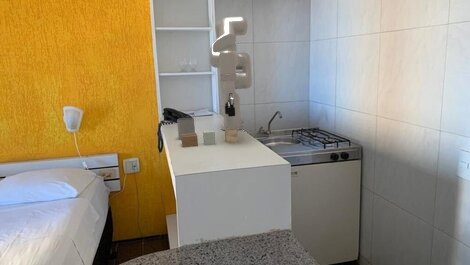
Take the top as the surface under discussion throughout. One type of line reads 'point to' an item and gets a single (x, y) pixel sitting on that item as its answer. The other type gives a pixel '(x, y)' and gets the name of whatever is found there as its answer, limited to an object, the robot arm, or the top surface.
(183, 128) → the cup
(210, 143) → the sage block
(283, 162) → the top surface
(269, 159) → the top surface
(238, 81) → the robot arm
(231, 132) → the maple block
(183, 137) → the walnut block
